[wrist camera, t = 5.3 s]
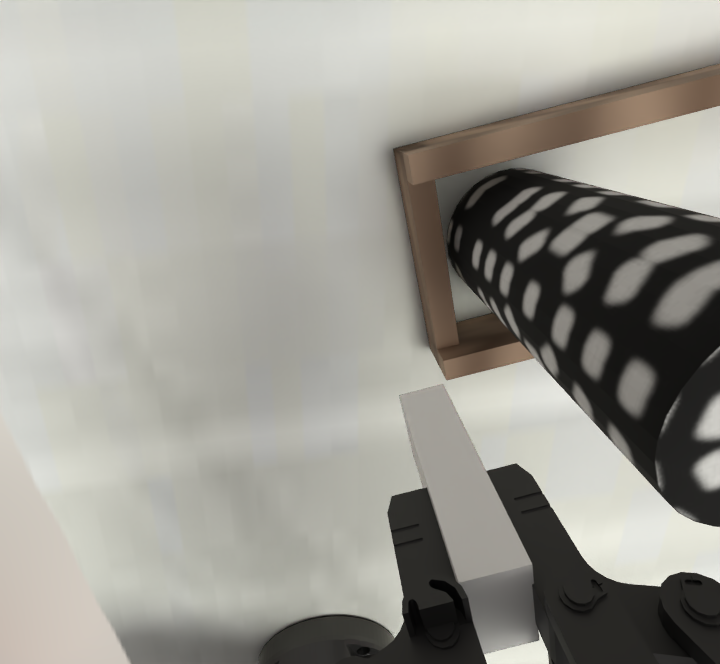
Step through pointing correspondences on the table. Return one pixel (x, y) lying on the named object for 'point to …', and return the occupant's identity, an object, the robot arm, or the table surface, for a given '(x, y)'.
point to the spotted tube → (609, 314)
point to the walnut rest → (502, 143)
